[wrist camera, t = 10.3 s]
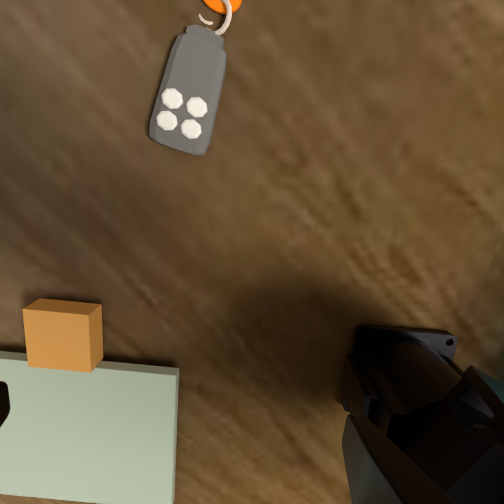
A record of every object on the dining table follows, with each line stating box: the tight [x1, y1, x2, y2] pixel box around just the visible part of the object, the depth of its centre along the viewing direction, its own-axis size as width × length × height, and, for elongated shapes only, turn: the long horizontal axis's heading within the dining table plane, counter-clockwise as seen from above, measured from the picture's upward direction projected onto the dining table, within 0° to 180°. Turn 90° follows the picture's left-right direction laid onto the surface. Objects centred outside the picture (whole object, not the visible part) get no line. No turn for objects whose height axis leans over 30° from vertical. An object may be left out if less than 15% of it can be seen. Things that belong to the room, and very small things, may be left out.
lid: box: [0, 298, 179, 504], centre depth 22 cm, size 15×16×2 cm
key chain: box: [149, 0, 242, 156], centre depth 16 cm, size 13×4×2 cm, turn 162°
